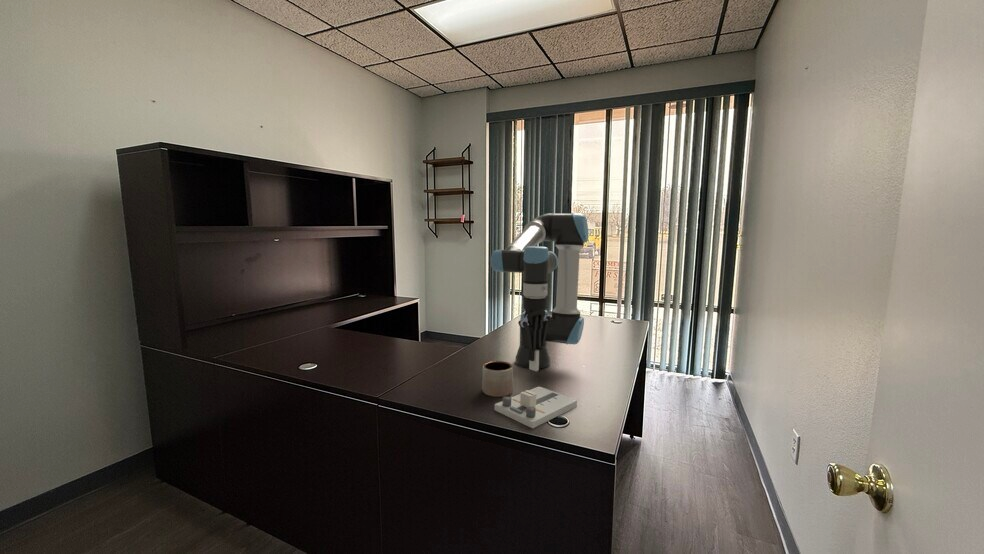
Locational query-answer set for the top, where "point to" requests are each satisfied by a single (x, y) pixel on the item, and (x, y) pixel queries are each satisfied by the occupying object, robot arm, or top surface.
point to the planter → (497, 378)
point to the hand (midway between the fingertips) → (533, 369)
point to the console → (536, 407)
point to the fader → (528, 399)
